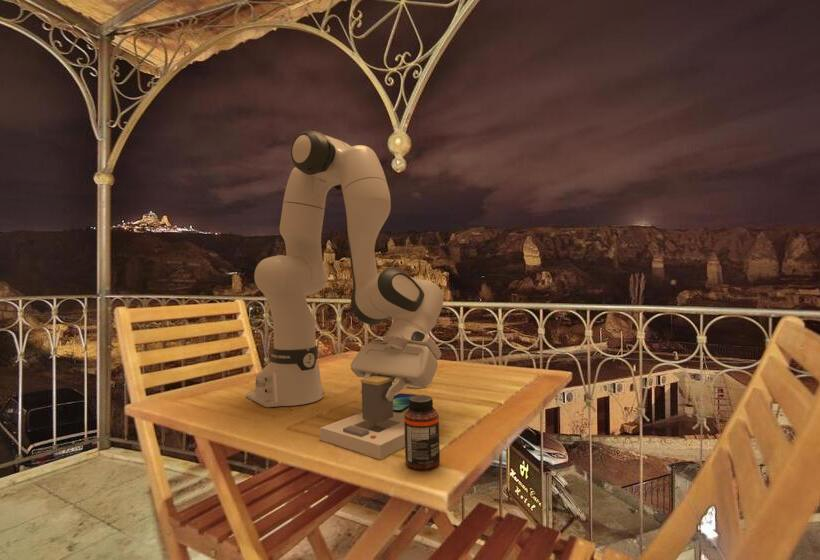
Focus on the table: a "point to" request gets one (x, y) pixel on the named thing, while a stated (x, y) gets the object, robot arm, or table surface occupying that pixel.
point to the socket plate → (367, 435)
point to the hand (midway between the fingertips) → (375, 397)
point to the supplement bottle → (421, 433)
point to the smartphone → (401, 402)
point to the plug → (376, 399)
